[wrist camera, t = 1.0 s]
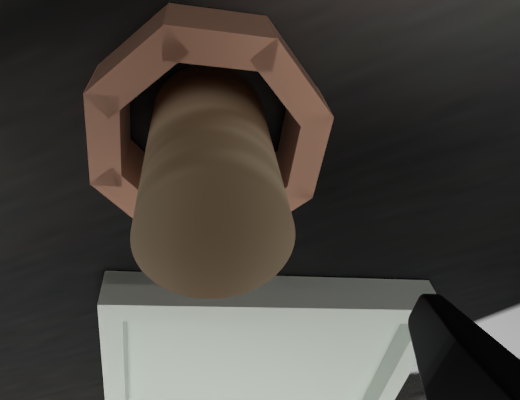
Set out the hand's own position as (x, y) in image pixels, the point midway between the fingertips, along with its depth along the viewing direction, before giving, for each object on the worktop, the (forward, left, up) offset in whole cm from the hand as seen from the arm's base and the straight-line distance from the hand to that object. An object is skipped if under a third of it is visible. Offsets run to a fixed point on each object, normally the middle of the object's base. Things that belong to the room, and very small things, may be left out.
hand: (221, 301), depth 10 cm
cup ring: (0, 0, -9) cm, 9 cm away
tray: (-4, +15, -9) cm, 18 cm away
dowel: (0, 0, -9) cm, 9 cm away
